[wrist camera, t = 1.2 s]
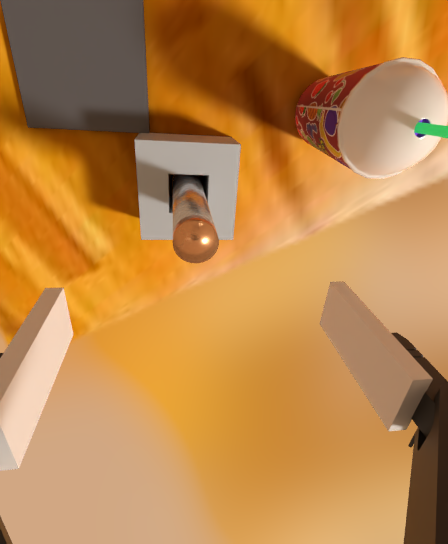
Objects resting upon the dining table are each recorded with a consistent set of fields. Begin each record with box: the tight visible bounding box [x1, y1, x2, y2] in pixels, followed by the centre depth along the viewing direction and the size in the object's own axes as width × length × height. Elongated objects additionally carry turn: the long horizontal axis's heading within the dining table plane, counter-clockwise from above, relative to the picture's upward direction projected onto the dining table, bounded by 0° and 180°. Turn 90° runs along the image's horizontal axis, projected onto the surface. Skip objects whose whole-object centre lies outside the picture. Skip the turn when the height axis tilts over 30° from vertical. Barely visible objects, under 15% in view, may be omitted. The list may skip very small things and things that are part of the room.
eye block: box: [134, 133, 241, 240], centre depth 35 cm, size 10×10×6 cm
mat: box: [1, 0, 150, 133], centre depth 31 cm, size 12×12×1 cm
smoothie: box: [295, 57, 448, 179], centre depth 28 cm, size 8×8×20 cm
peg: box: [173, 174, 219, 263], centre depth 30 cm, size 3×3×18 cm
